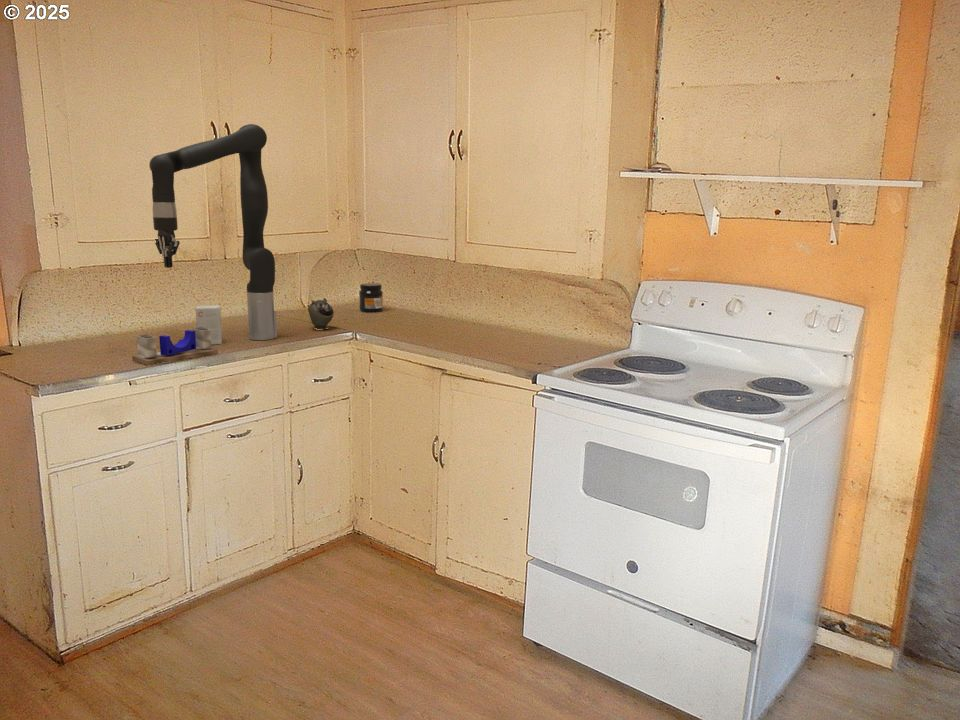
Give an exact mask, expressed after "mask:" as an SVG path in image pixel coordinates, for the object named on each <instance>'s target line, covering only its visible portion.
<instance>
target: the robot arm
mask: <svg viewBox="0 0 960 720" xmlns="http://www.w3.org/2000/svg"><path fill="white" fill-rule="evenodd" d="M267 139H268V137H267V133H266V131H265V130H264V128H263V127H261V126H259V125H258V124H254V123H249V124H246V125H245V124H244V125H243V126H241V127H240V128H239V129H238V130H236V131H235V132H232V133H230V134H228V135H225V136H221V137H219V138H215V139H210V140H206V141H205V140H204V141H201V142H198V143H194V144H191V145H187V146H184V147H181V148H179V149H177V150H173V151H168V152H166V153H162V154H157V155H154V156H153V157H151V159H150V161H149V170H150V171H151V179H152V189H151V194H152V195H151V197H152V219H153V220H152V221H153V222H152V223H153V230H154V231H156V232H157V238H158V239H157V238H154V239H155V240H156V243H155V242H154V244H155V247H156V249H157V250H158V253H159V255H162V257H163V263H164V264H163V267H165V268H167V269H168V268H169V269H171V268H173V256H175V255H176V253H177V252H178V250H179V246H180V240H176V235H175V231H177V230H178V228H179V227H178V214H177V204H176V196H175V186H174V185H175V173H177V172H180V171H182V170H188V169H193V168H196V167H199V166H203V165H206V164H208V163H209V164H210V163H212V162H214V161H217V160H219V159H222V158H225V157H228V156H232V155H236V154H238V156H239V166H240V174H239V180H240V181H239V186H240V188H239V189H240V208H241V220H242V234H243V237H242V256H241V257H242V262H243V265H244V267H245V268H246V269H247V270H248V271H249V281H248V283H247V284H246V297H247V298H246V300H247V320H248V321H247V324H248V339H249V340H252V341H253V340H254V341H268V340H273V339H275V338H278V321H277V319H278V318H277V312H276V311H275V302H274V285H275V284H276V283H275V282H276V263H275V262H276V261H275V257H274V254H273V252H272V251H271V250H270V249H268V248H266V247H265V243H264V229H265V224H266V220H267V217H268V212H269V211H268V210H269V200H268V199H269V197H268V189H267V183H266V181H265V176H264V172H263V168H262V149H263V148H265V146H266V144H267Z"/></svg>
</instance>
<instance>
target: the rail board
mask: <svg viewBox="0 0 960 720" xmlns="http://www.w3.org/2000/svg"><path fill="white" fill-rule="evenodd" d="M192 331H195V336H196V349H193V350H189V351H185V352H180V353H176V354H172V355H168V356H167V355H161V354H160V351H157V344H156V341H157V340H156V337H155V336H153V335H149V334H139V335H136V343H137V345H136V346H137V347H136V348H137V354H135V355H132V356H131V357H132V361H133V362H136V363H138V364H142V365H144V364H145V365H144V366H147V365H150V366H154V365H153V364H156V365H158V364H157V363H162V362H168V363H170V362H169V361H174V362H177V361H176V360H180V361H185V360H184V359H186V360H190V359H189V358H192V359H197V358H196V357H198V358H202V357H201V356H204V357H209V355H210V356H214V355H215V356H216V355H219V353H218V352H219V351H218V349H215V348H213V347H212V344H211V331H210V330H209V329H207V328H203V327H197V326H196V327H194V328H193V327H192ZM162 364H163V363H162Z"/></svg>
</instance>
